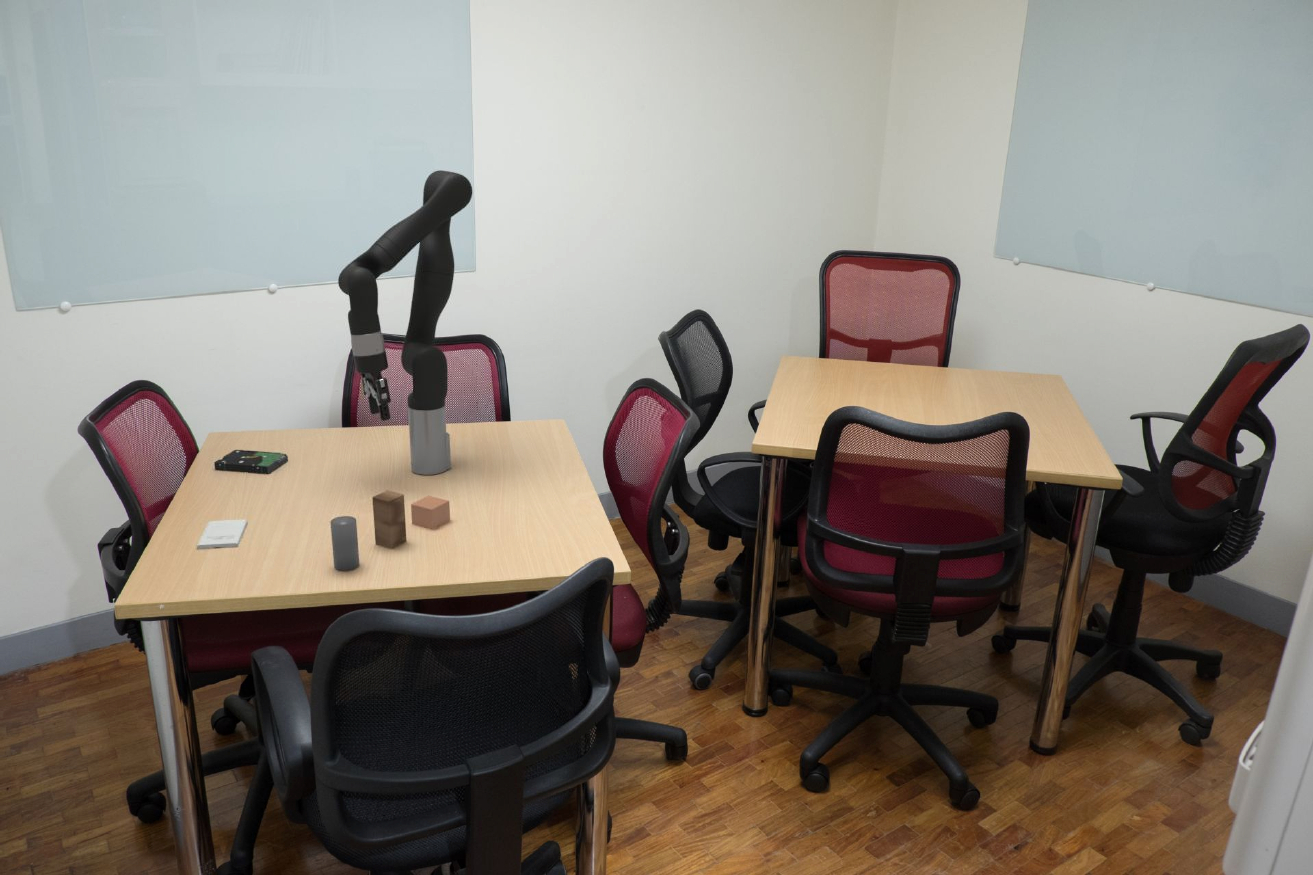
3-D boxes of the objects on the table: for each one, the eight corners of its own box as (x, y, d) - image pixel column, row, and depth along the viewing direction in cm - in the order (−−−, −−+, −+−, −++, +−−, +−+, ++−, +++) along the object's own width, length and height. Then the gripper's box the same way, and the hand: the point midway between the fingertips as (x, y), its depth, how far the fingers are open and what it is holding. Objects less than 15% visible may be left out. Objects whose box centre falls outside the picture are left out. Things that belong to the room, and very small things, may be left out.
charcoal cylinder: (353, 558, 210) (350, 514, 206) (363, 566, 206) (360, 522, 203) (330, 564, 207) (326, 519, 203) (339, 573, 203) (336, 527, 200)
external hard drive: (248, 525, 225) (238, 549, 214) (208, 527, 223) (197, 551, 212) (247, 519, 224) (237, 542, 213) (208, 521, 223) (196, 544, 211)
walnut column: (390, 536, 220) (387, 490, 217) (406, 541, 218) (403, 494, 215) (375, 544, 216) (372, 497, 213) (391, 549, 214) (388, 501, 211)
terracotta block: (429, 515, 232) (428, 495, 230) (450, 521, 229) (449, 500, 228) (412, 524, 227) (410, 504, 225) (432, 530, 224) (431, 509, 223)
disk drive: (214, 472, 255) (269, 476, 253) (213, 462, 254) (268, 465, 252) (235, 459, 265) (289, 462, 263) (234, 449, 264) (288, 452, 262)
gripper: (393, 352, 234) (404, 418, 239) (376, 344, 246) (386, 408, 251) (361, 358, 231) (373, 425, 235) (345, 350, 243) (357, 414, 247)
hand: (380, 416), depth 243 cm, fingers open, 8 cm apart
